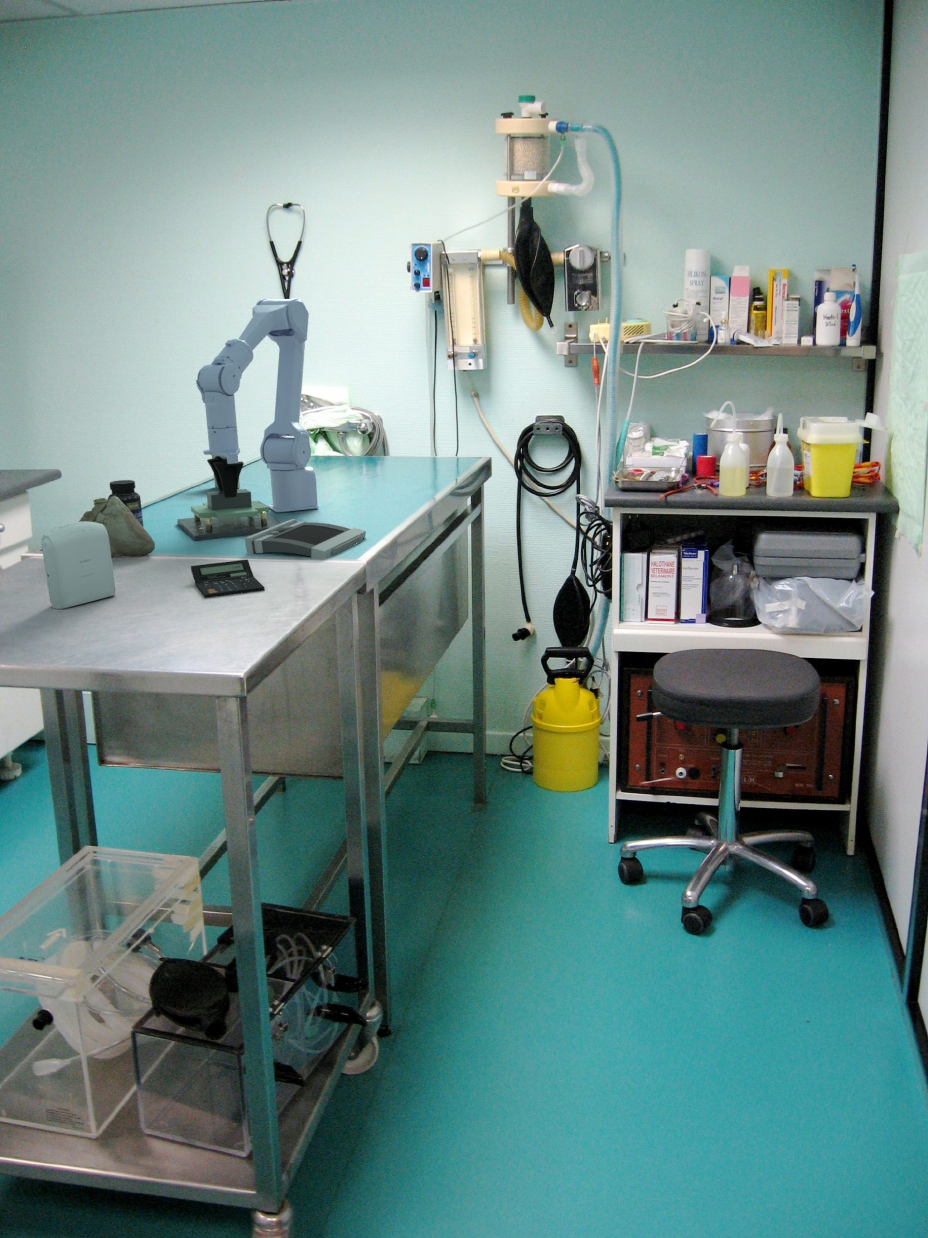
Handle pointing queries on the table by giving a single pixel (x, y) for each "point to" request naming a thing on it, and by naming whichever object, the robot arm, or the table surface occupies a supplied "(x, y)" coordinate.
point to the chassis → (226, 526)
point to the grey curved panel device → (304, 539)
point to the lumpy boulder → (120, 527)
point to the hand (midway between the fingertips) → (228, 495)
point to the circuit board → (230, 512)
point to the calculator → (225, 578)
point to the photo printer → (78, 564)
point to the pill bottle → (128, 496)
